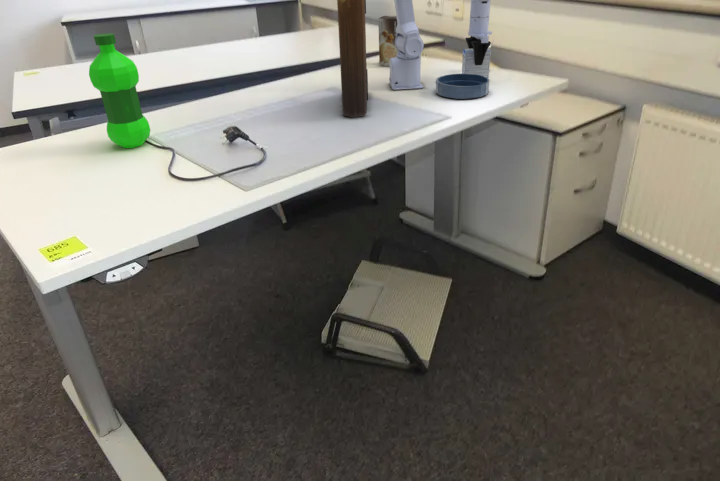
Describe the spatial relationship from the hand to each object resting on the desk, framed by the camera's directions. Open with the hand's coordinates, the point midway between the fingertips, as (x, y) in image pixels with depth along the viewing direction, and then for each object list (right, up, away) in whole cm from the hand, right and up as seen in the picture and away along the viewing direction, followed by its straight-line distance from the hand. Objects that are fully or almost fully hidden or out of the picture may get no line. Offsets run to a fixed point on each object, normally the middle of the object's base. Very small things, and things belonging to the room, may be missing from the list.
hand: (476, 63), depth 168 cm
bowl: (-6, -12, -10) cm, 17 cm away
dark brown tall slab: (-38, -18, -17) cm, 45 cm away
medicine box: (0, -4, +2) cm, 5 cm away
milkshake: (+5, +1, +13) cm, 14 cm away
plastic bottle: (-91, -33, -39) cm, 105 cm away
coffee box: (-24, +8, +25) cm, 36 cm away
